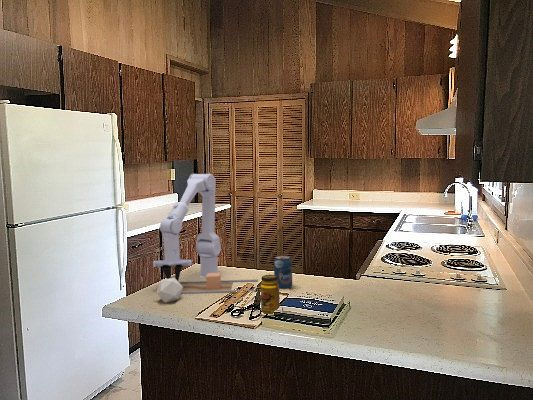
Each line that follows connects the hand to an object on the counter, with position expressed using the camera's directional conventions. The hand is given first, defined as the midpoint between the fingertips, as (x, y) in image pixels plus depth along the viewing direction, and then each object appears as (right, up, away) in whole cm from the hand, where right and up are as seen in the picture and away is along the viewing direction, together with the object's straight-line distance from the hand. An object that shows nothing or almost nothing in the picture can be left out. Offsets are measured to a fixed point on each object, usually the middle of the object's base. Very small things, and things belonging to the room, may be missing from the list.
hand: (173, 284), depth 172 cm
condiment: (+38, -4, -27) cm, 46 cm away
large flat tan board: (+11, -2, 0) cm, 11 cm away
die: (+2, -4, -13) cm, 13 cm away
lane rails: (+14, -2, 0) cm, 15 cm away
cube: (+16, -1, 0) cm, 16 cm away
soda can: (+42, -1, -1) cm, 42 cm away
